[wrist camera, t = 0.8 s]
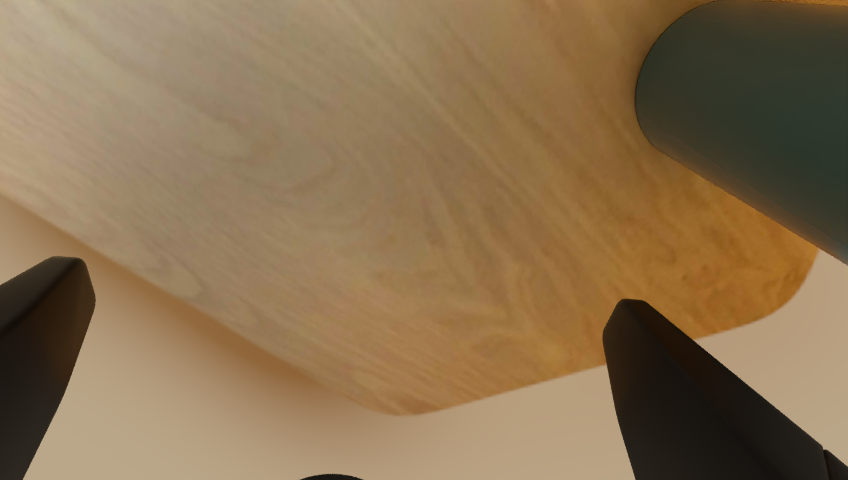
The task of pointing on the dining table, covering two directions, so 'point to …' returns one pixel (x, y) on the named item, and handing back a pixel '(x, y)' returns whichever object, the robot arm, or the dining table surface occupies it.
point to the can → (758, 109)
